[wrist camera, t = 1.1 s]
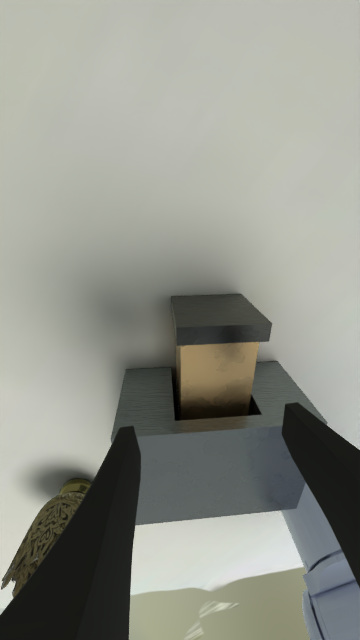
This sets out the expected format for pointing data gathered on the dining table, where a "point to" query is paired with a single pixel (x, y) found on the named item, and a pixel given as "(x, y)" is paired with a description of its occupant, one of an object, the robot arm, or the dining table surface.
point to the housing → (211, 449)
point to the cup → (45, 532)
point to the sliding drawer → (216, 354)
